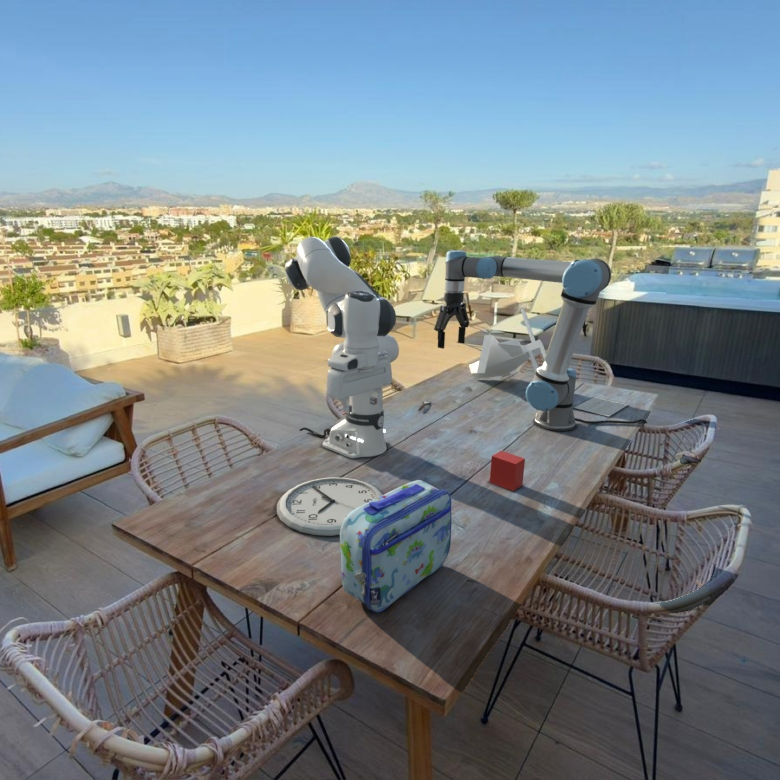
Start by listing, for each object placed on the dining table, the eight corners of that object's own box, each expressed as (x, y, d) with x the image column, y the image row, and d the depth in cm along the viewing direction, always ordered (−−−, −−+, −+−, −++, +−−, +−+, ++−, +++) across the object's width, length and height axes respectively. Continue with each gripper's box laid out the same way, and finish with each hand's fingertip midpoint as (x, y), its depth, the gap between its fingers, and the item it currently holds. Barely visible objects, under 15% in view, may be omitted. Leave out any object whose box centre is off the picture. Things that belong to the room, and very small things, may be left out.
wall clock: (392, 527, 129) (268, 531, 127) (391, 533, 130) (269, 537, 127) (383, 473, 158) (282, 475, 155) (383, 478, 158) (282, 480, 156)
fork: (415, 411, 216) (415, 406, 216) (426, 400, 231) (426, 395, 230) (421, 412, 216) (421, 407, 215) (432, 400, 230) (432, 396, 229)
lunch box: (369, 626, 100) (370, 530, 93) (334, 598, 107) (332, 507, 101) (455, 567, 117) (460, 483, 111) (419, 547, 124) (423, 467, 118)
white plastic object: (490, 421, 263) (470, 398, 238) (471, 347, 285) (451, 320, 260) (562, 397, 251) (549, 370, 226) (536, 322, 273) (522, 290, 248)
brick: (498, 476, 161) (501, 450, 158) (522, 485, 156) (525, 458, 153) (489, 482, 157) (491, 455, 155) (513, 491, 152) (515, 464, 149)
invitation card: (608, 416, 214) (573, 407, 224) (608, 416, 214) (573, 408, 224) (628, 404, 229) (594, 396, 238) (628, 405, 229) (594, 397, 238)
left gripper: (380, 348, 142) (380, 396, 146) (322, 360, 127) (323, 414, 132) (397, 352, 138) (396, 401, 142) (339, 365, 123) (340, 420, 127)
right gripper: (464, 288, 214) (461, 339, 220) (426, 293, 196) (424, 348, 203) (480, 290, 209) (476, 342, 215) (442, 295, 191) (439, 351, 198)
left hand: (361, 408), depth 137 cm, fingers open, 8 cm apart
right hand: (451, 345), depth 209 cm, fingers open, 13 cm apart
